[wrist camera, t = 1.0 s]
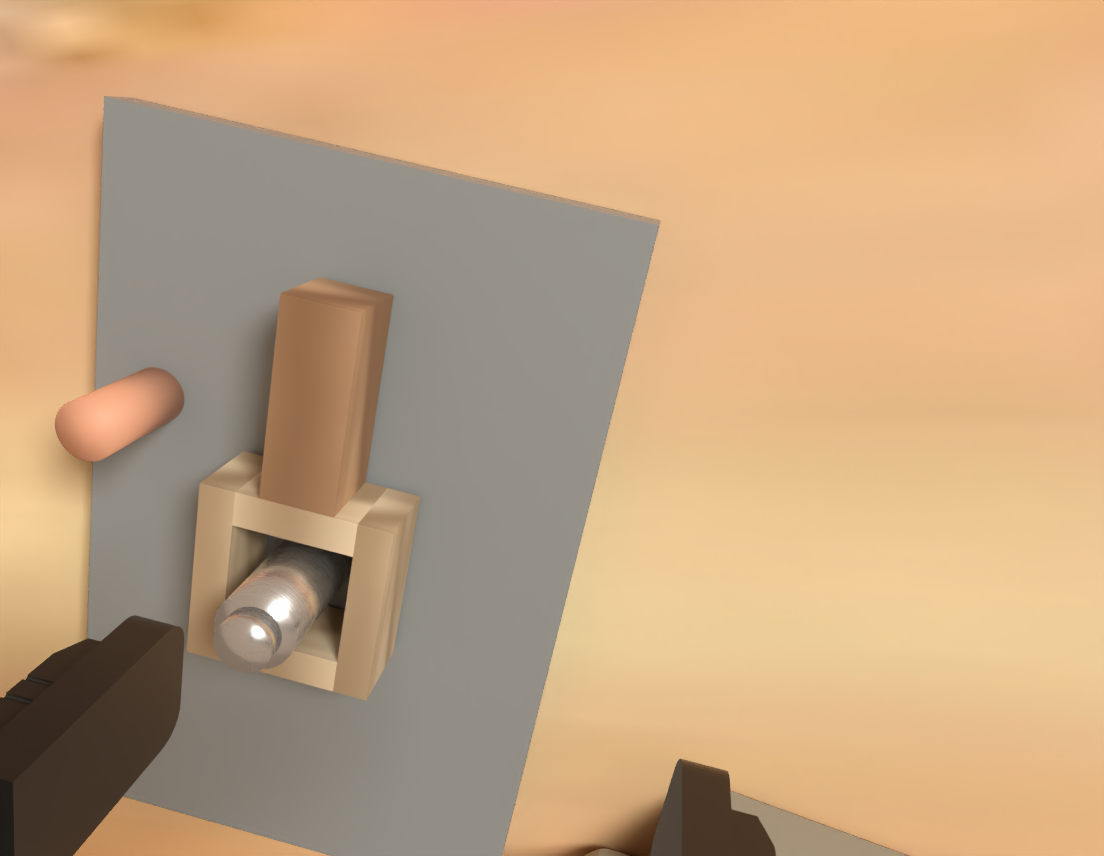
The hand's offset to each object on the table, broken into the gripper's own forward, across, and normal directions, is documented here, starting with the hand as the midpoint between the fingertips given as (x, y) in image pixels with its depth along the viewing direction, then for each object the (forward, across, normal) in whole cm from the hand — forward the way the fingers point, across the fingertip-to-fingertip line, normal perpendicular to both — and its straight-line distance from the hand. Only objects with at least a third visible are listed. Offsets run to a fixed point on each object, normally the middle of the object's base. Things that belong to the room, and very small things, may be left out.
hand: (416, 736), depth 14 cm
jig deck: (+18, +7, +7) cm, 21 cm away
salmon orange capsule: (+17, +14, +3) cm, 22 cm away
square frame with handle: (+16, +7, +4) cm, 18 cm away
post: (+17, +7, +7) cm, 20 cm away
